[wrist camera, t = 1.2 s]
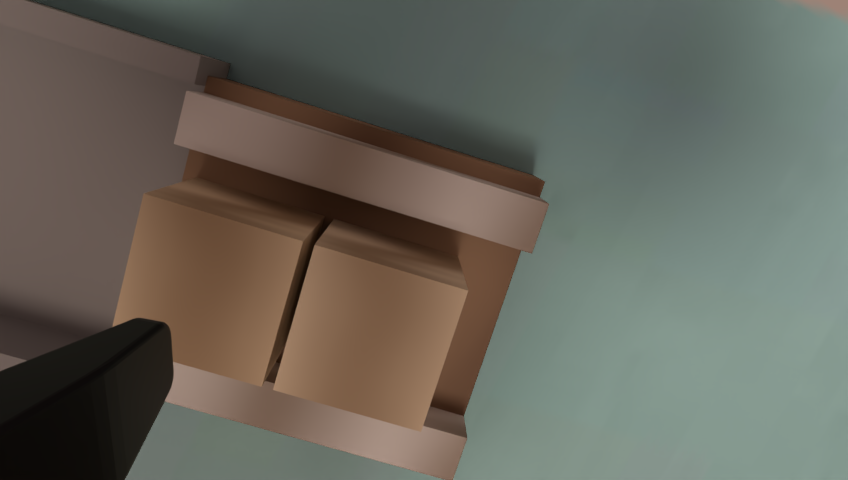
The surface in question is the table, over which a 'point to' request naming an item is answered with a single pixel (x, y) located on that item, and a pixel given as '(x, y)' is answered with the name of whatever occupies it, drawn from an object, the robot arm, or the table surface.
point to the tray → (79, 165)
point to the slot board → (375, 210)
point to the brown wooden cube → (372, 325)
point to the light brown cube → (219, 274)
